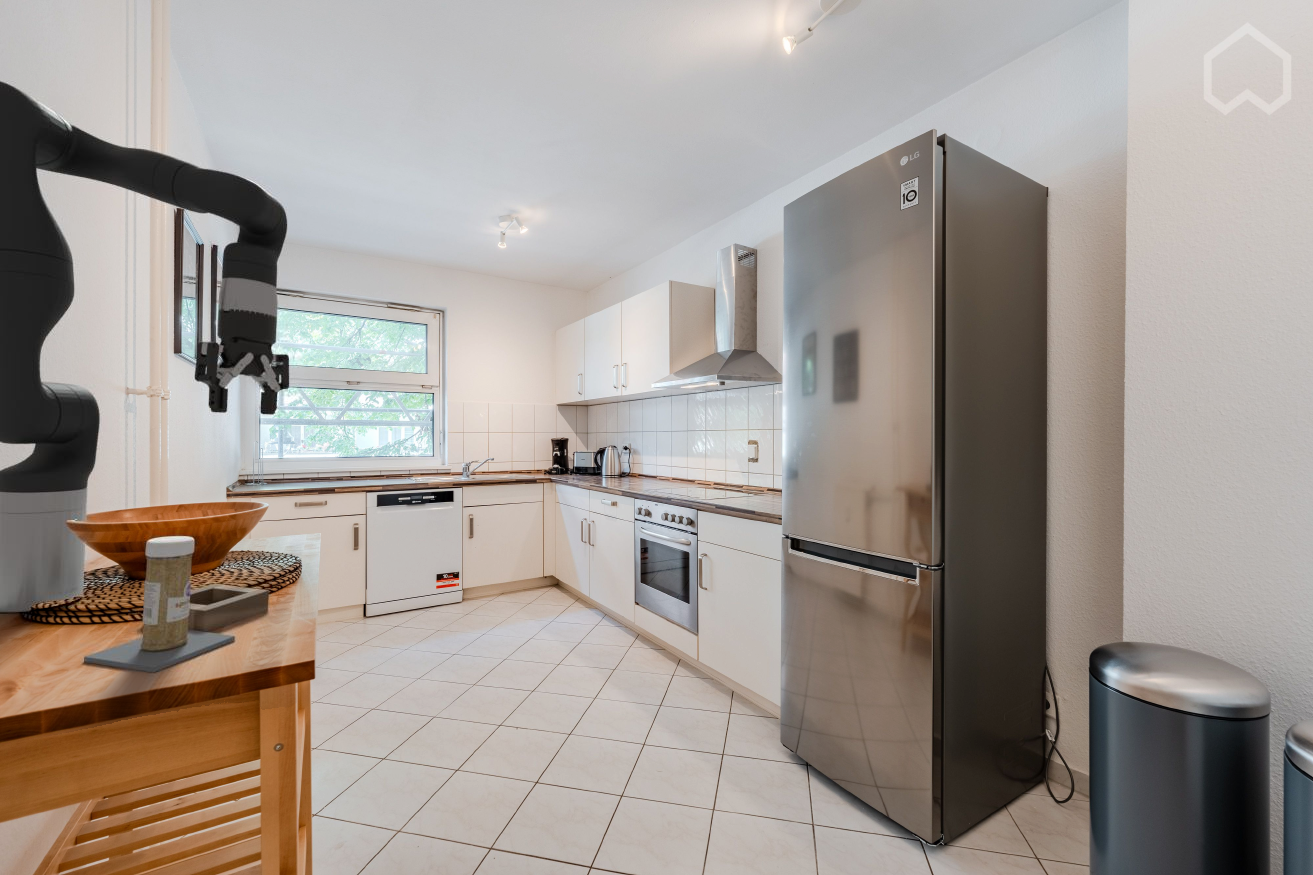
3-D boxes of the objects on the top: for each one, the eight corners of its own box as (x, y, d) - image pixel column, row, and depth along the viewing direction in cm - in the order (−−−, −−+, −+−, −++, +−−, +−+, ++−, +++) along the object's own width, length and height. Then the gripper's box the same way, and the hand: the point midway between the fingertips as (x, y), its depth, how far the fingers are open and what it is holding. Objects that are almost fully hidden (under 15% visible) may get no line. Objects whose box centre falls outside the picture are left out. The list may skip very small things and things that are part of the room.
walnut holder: (144, 624, 77) (145, 602, 76) (213, 602, 86) (214, 583, 86) (204, 632, 75) (205, 610, 75) (268, 609, 85) (268, 590, 85)
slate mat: (83, 661, 65) (84, 656, 65) (172, 631, 74) (172, 627, 74) (153, 672, 63) (153, 667, 63) (234, 640, 73) (234, 635, 73)
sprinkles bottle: (188, 647, 69) (195, 540, 69) (139, 655, 66) (146, 543, 66) (187, 635, 72) (193, 533, 72) (139, 642, 69) (146, 536, 69)
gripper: (267, 321, 95) (263, 414, 95) (183, 301, 81) (178, 410, 81) (304, 321, 94) (300, 416, 94) (226, 301, 80) (221, 412, 80)
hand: (244, 413), depth 88 cm, fingers open, 8 cm apart
